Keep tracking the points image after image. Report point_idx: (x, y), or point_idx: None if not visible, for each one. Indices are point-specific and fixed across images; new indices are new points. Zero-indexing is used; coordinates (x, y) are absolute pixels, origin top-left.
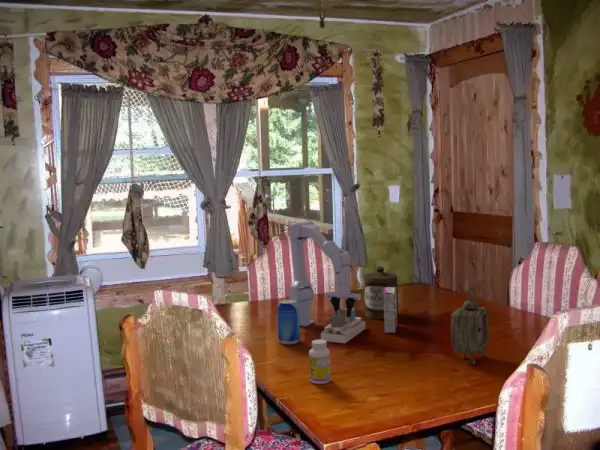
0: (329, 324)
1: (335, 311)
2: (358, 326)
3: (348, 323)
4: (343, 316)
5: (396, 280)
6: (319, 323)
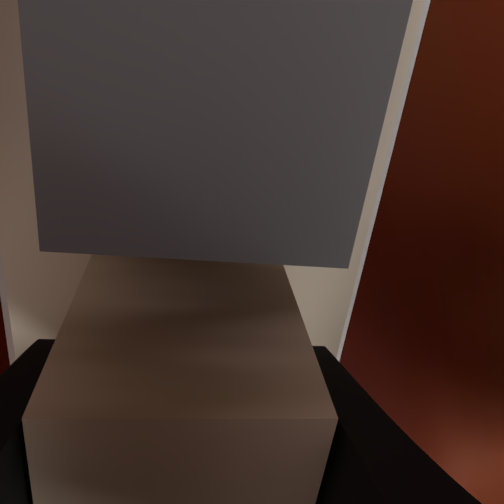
0: (393, 115)
1: (374, 408)
2: (12, 362)
3: (72, 266)
4: (42, 158)
5: None
6: (500, 471)
